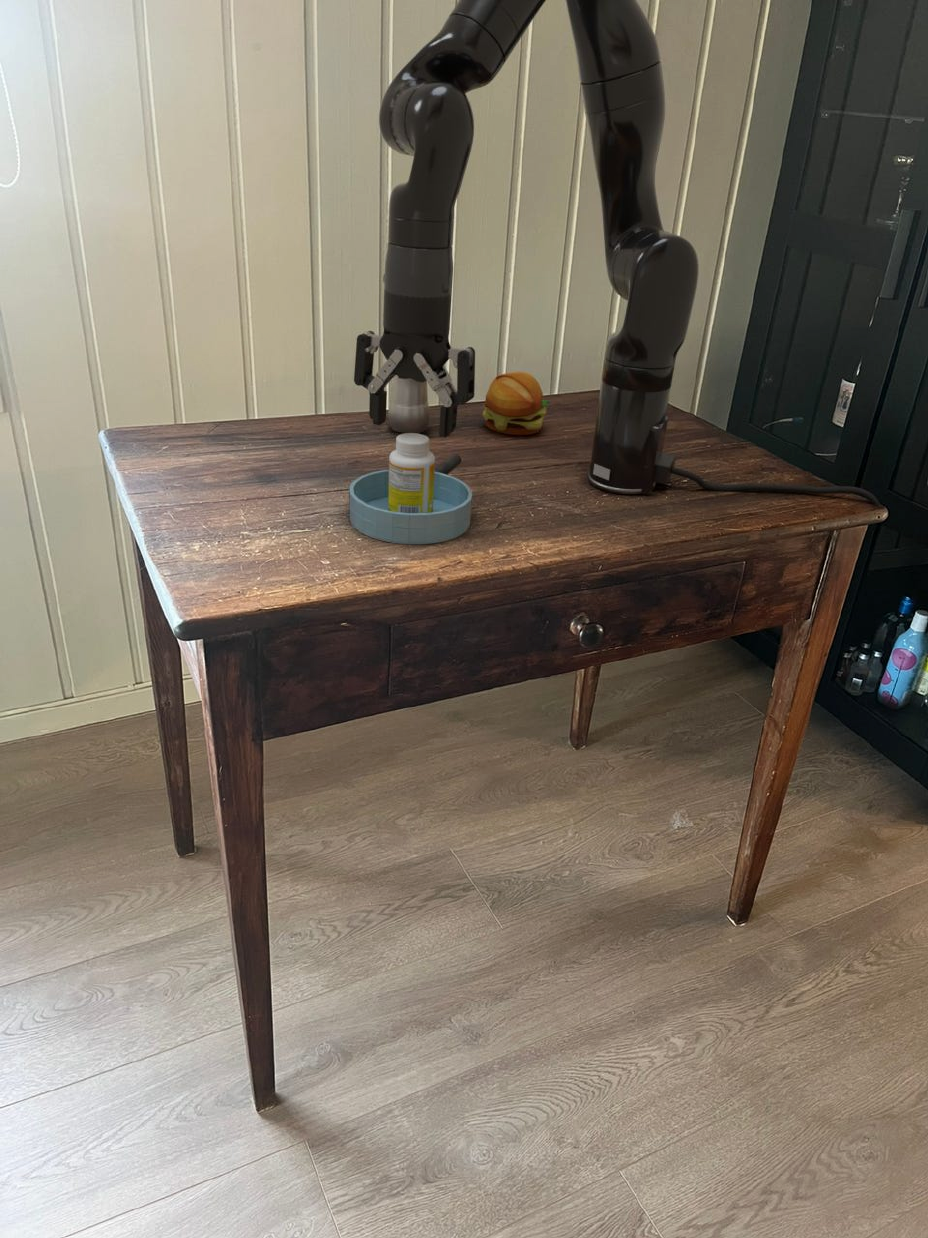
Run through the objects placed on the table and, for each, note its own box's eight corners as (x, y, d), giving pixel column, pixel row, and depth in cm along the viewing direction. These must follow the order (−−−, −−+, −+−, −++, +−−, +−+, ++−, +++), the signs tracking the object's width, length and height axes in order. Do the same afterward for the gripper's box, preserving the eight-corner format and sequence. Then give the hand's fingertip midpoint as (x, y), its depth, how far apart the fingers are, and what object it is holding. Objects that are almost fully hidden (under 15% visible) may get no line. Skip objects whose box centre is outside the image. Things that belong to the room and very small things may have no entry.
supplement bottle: (416, 505, 121) (419, 427, 116) (441, 520, 118) (445, 441, 113) (379, 513, 118) (380, 434, 113) (403, 529, 115) (406, 448, 110)
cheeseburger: (550, 420, 156) (555, 365, 149) (538, 455, 149) (543, 399, 142) (490, 412, 158) (492, 357, 151) (475, 446, 150) (477, 390, 143)
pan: (486, 509, 122) (489, 482, 120) (443, 554, 110) (444, 524, 108) (381, 488, 126) (381, 461, 125) (327, 528, 114) (327, 499, 112)
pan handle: (438, 484, 123) (439, 473, 122) (427, 482, 123) (428, 471, 122) (462, 464, 130) (463, 453, 129) (451, 462, 130) (452, 451, 129)
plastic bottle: (396, 439, 144) (399, 303, 134) (381, 426, 149) (383, 294, 139) (435, 436, 146) (441, 302, 136) (419, 423, 151) (424, 293, 142)
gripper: (490, 291, 106) (478, 431, 114) (374, 274, 110) (371, 411, 118) (465, 301, 99) (455, 449, 107) (344, 283, 104) (343, 427, 111)
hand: (411, 429), depth 112 cm, fingers open, 8 cm apart
